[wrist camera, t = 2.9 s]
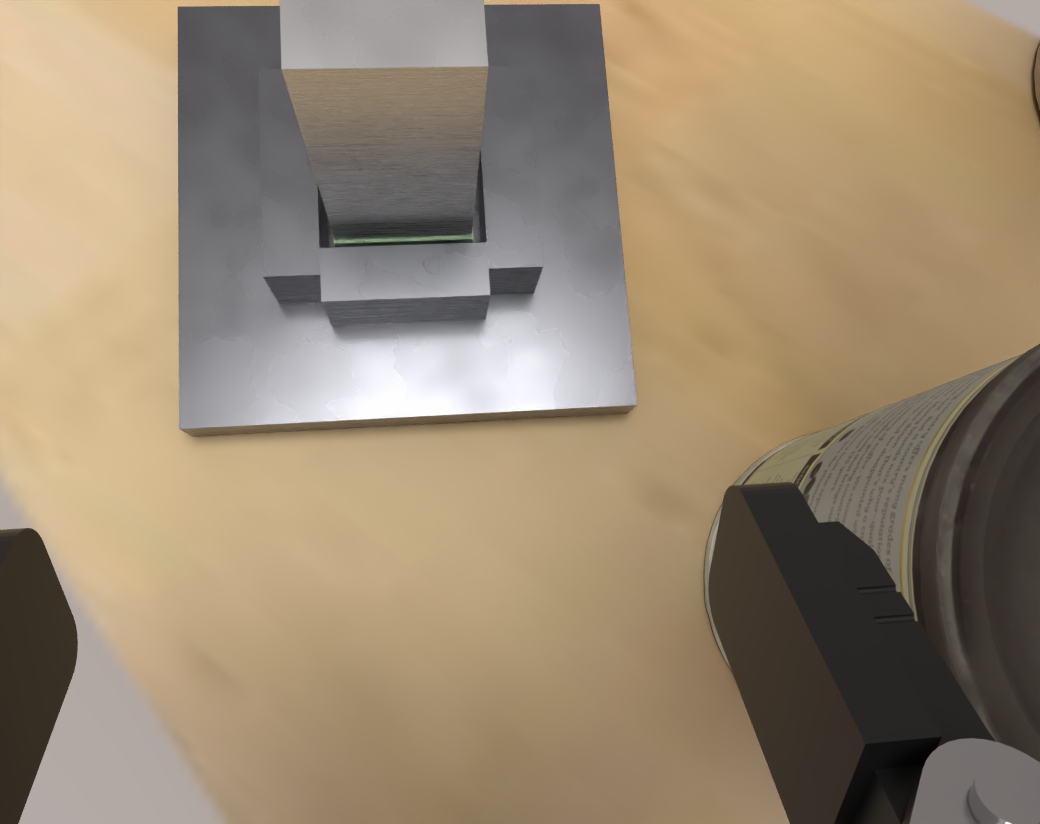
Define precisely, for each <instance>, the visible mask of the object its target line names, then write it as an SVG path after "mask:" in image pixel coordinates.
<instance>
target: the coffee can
mask: <svg viewBox="0 0 1040 824" xmlns="http://www.w3.org/2000/svg"><path fill="white" fill-rule="evenodd" d="M780 482H792V483H793V484H795V485H796V486H797V487H798V488H799V490H800V491H801V493H802V495H803V497H804V498H805V500H806V502H807V503H808V505H809V507H810V509H811V510H812V512H813V514H814V516H815V517H816V519H817V521H818V522H819V523H820V522H835V521H839V522H840V523H841V524H843V525H844V526H845V527H846V528H848V529H849V530H850V531H851V532H852V533H854V534H855V535H856V536H857V537H859V538H860V539H861V540H862V541H864V542H865V543H866V544H867V545H868V546H870V547H871V548H872V549H873V550H874V551H875V552H876V554H877V556H878V557H879V559H880V560H881V562H882V563H883V565H884V567H885V568H886V570H887V571H888V573H889V575H890V576H891V578H892V579H893V581H894V582H895V584H896V591H897V592H901V594H902V595H903V597H904V598H905V600H906V601H907V603H908V605H909V606H910V608H911V609H912V611H913V613H914V619H915V621H919V622H920V624H921V625H922V627H923V628H924V630H925V632H926V633H927V635H928V636H929V638H930V639H931V641H932V643H933V644H934V646H935V647H936V649H937V651H938V652H939V654H940V655H941V657H942V659H943V660H944V662H945V663H946V665H947V666H948V668H949V670H950V671H951V673H952V674H953V676H954V678H955V679H956V681H957V682H958V684H959V685H960V687H961V689H962V690H963V692H964V693H965V695H966V697H967V698H968V700H969V701H970V703H971V704H972V706H973V708H974V709H975V711H976V712H977V714H978V716H979V717H980V719H981V720H982V722H983V723H984V725H985V727H986V728H987V730H988V731H989V733H990V734H991V735H992V737H993V738H994V739H995V741H996V742H999V743H1002V744H1004V745H1007V746H1010V747H1013V748H1015V749H1017V750H1019V751H1021V752H1023V753H1025V754H1027V755H1029V756H1030V757H1032V758H1034V759H1035V760H1037V761H1038V762H1040V344H1039V345H1037V346H1035V347H1034V348H1032V349H1030V350H1029V351H1027V352H1026V353H1024V354H1021V355H1019V356H1016V357H1013V358H1011V359H1008V360H1006V361H1003V362H1000V363H998V364H995V365H993V366H990V367H987V368H985V369H982V370H980V371H977V372H974V373H972V374H969V375H967V376H964V377H961V378H959V379H956V380H954V381H951V382H948V383H946V384H943V385H941V386H938V387H935V388H933V389H930V390H928V391H925V392H923V393H920V394H917V395H915V396H912V397H910V398H907V399H904V400H902V401H899V402H896V403H893V404H890V405H887V406H885V407H882V408H880V409H878V410H875V411H873V412H870V413H868V414H865V415H862V416H860V417H857V418H855V419H852V420H850V421H847V422H845V423H842V424H839V425H837V426H834V427H832V428H829V429H827V430H824V431H822V432H816V433H812V434H808V435H805V436H802V437H799V438H796V439H793V440H791V441H789V442H786V443H784V444H782V445H781V446H779V447H777V448H775V449H773V450H771V451H770V452H769V453H767V454H766V455H764V456H763V457H762V458H760V459H759V460H758V461H756V462H755V463H754V464H753V465H752V466H751V467H749V468H748V469H747V471H746V472H745V473H744V474H743V475H742V476H741V477H740V478H739V479H738V480H737V481H736V482H735V483H734V485H748V484H764V483H780ZM721 509H722V505H721V507H720V509H719V511H718V513H717V515H716V518H715V520H714V523H713V526H712V529H711V532H710V536H709V539H708V543H707V550H706V557H705V568H704V582H705V604H706V608H707V611H708V614H709V617H710V622H711V626H712V630H713V633H714V636H715V638H716V641H717V643H718V646H719V648H720V650H721V653H722V655H723V657H724V658H725V660H726V662H727V664H728V666H729V667H730V665H729V662H728V659H727V657H726V654H725V652H724V649H723V646H722V644H721V641H720V638H719V636H718V633H717V631H716V628H715V625H714V622H713V618H712V614H711V609H710V603H709V591H708V582H709V572H710V567H711V562H712V556H713V551H714V546H715V541H716V535H717V530H718V525H719V520H720V515H721ZM730 669H731V667H730Z"/></svg>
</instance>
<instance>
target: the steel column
mask: <svg viewBox="0 0 1040 824" xmlns="http://www.w3.org/2000/svg"><path fill="white" fill-rule="evenodd" d="M280 31H281V69H282V72H283V76H284V79H285V82H286V85H287V88H288V92H289V95H290V98H291V101H292V104H293V108H294V111H295V114H296V117H297V120H298V123H299V127H300V130H301V133H302V136H303V139H304V143H305V146H306V149H307V152H308V155H309V159H310V162H311V165H312V168H313V171H314V174H315V178H316V181H317V184H318V187H319V190H320V194H321V197H322V200H323V203H324V206H325V210H326V213H327V216H328V219H329V222H330V226H331V229H332V232H333V235H334V245H335V247H362V246H392V245H422V244H453V243H473V217H474V207H475V197H476V187H477V176H478V166H479V156H480V146H481V136H482V125H483V115H484V105H485V95H486V84H487V74H488V55H487V41H486V26H485V12H484V0H280Z"/></svg>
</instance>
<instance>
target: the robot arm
mask: <svg viewBox="0 0 1040 824" xmlns="http://www.w3.org/2000/svg"><path fill="white" fill-rule="evenodd" d="M1034 78H1035V91H1036V99H1037V102H1038V106H1039V109H1040V45H1039V48H1038V50H1037V57H1036V64H1035V70H1034ZM708 591H709V603H710V609H711V614H712V618H713V622H714V625H715V628H716V631H717V633H718V636H719V638H720V641H721V644H722V646H723V649H724V652H725V654H726V657H727V659H728V662H729V665H730V667H731V670H732V672H733V675H734V678H735V680H736V683H737V686H738V688H739V691H740V693H741V696H742V699H743V701H744V704H745V707H746V709H747V712H748V714H749V717H750V720H751V722H752V725H753V727H754V730H755V733H756V735H757V738H758V741H759V743H760V746H761V748H762V751H763V754H764V756H765V759H766V762H767V764H768V767H769V769H770V772H771V775H772V777H773V780H774V782H775V785H776V788H777V790H778V793H779V796H780V798H781V801H782V803H783V806H784V809H785V811H786V814H787V817H788V819H789V822H790V824H1040V762H1038V761H1037V760H1035V759H1034V758H1032V757H1030V756H1029V755H1027V754H1025V753H1023V752H1021V751H1019V750H1017V749H1015V748H1013V747H1010V746H1007V745H1004V744H1002V743H999V742H996V741H995V739H994V738H993V737H992V735H991V734H990V733H989V731H988V730H987V728H986V727H985V725H984V723H983V722H982V720H981V719H980V717H979V716H978V714H977V712H976V711H975V709H974V708H973V706H972V704H971V703H970V701H969V700H968V698H967V697H966V695H965V693H964V692H963V690H962V689H961V687H960V685H959V684H958V682H957V681H956V679H955V678H954V676H953V674H952V673H951V671H950V670H949V668H948V666H947V665H946V663H945V662H944V660H943V659H942V657H941V655H940V654H939V652H938V651H937V649H936V647H935V646H934V644H933V643H932V641H931V639H930V638H929V636H928V635H927V633H926V632H925V630H924V628H923V627H922V625H921V624H920V622H919V621H915V619H914V613H913V611H912V609H911V608H910V606H909V605H908V603H907V601H906V600H905V598H904V597H903V595H902V594H901V592H897V591H896V584H895V582H894V581H893V579H892V578H891V576H890V575H889V573H888V571H887V570H886V568H885V567H884V565H883V563H882V562H881V560H880V559H879V557H878V556H877V554H876V552H875V551H874V550H873V549H872V548H871V547H870V546H868V545H867V544H866V543H865V542H864V541H862V540H861V539H860V538H859V537H857V536H856V535H855V534H854V533H852V532H851V531H850V530H849V529H848V528H846V527H845V526H844V525H843V524H841V523H840V522H839V521H835V522H820V523H819V522H818V521H817V519H816V517H815V516H814V514H813V512H812V510H811V509H810V507H809V505H808V503H807V502H806V500H805V498H804V497H803V495H802V493H801V491H800V490H799V488H798V487H797V486H796V485H795V484H793V483H792V482H780V483H764V484H748V485H733V486H730V487H729V488H728V489H727V491H726V493H725V495H724V499H723V504H722V509H721V515H720V520H719V525H718V530H717V535H716V541H715V546H714V551H713V556H712V562H711V567H710V572H709V582H708ZM77 644H78V641H77V630H76V624H75V621H74V617H73V615H72V613H71V610H70V607H69V605H68V602H67V600H66V597H65V595H64V592H63V590H62V587H61V585H60V582H59V580H58V577H57V575H56V572H55V570H54V568H53V565H52V563H51V560H50V558H49V555H48V553H47V550H46V548H45V545H44V543H43V541H42V538H41V537H40V535H39V534H38V533H37V532H36V531H35V530H33V529H30V528H23V529H8V530H0V824H18V823H19V820H20V817H21V815H22V812H23V809H24V807H25V804H26V801H27V798H28V796H29V793H30V790H31V787H32V785H33V782H34V779H35V777H36V774H37V771H38V769H39V765H40V763H41V760H42V757H43V755H44V752H45V750H46V747H47V744H48V741H49V739H50V736H51V733H52V731H53V728H54V725H55V722H56V720H57V717H58V714H59V712H60V709H61V706H62V703H63V701H64V698H65V695H66V692H67V690H68V687H69V684H70V682H71V679H72V676H73V673H74V669H75V665H76V658H77Z"/></svg>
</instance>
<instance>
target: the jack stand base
mask: <svg viewBox="0 0 1040 824" xmlns="http://www.w3.org/2000/svg"><path fill="white" fill-rule="evenodd" d="M484 12H485V26H486V41H487V55H488V74H487V84H486V95H485V105H484V115H483V125H482V136H481V146H480V156H479V166H478V176H477V187H476V197H475V207H474V217H473V243H453V244H422V245H392V246H362V247H335V245H334V235H333V232H332V229H331V226H330V222H329V219H328V216H327V213H326V210H325V206H324V203H323V200H322V197H321V194H320V190H319V187H318V184H317V181H316V178H315V174H314V171H313V168H312V165H311V162H310V159H309V155H308V152H307V149H306V146H305V143H304V139H303V136H302V133H301V130H300V127H299V123H298V120H297V117H296V114H295V111H294V108H293V104H292V101H291V98H290V95H289V92H288V88H287V85H286V82H285V79H284V76H283V72H282V69H281V31H280V6H212V7H178V202H179V429H180V430H182V431H184V432H186V433H187V434H189V435H191V436H212V435H230V434H249V433H268V432H286V431H305V430H323V429H342V428H361V427H379V426H398V425H417V424H435V423H454V422H472V421H491V420H510V419H528V418H547V417H565V416H584V415H603V414H621V413H628V412H629V411H630V410H631V409H633V408H634V407H635V406H636V405H637V399H636V389H635V378H634V367H633V357H632V346H631V335H630V325H629V314H628V303H627V293H626V282H625V271H624V261H623V250H622V239H621V229H620V218H619V207H618V197H617V186H616V175H615V165H614V154H613V143H612V133H611V122H610V112H609V101H608V90H607V80H606V69H605V58H604V48H603V37H602V26H601V16H600V5H599V4H549V5H484Z"/></svg>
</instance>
